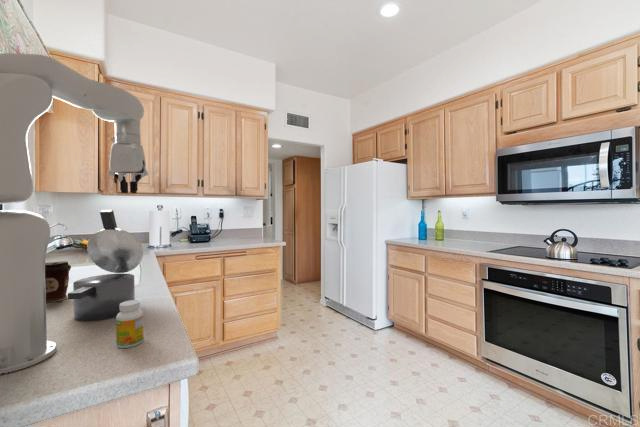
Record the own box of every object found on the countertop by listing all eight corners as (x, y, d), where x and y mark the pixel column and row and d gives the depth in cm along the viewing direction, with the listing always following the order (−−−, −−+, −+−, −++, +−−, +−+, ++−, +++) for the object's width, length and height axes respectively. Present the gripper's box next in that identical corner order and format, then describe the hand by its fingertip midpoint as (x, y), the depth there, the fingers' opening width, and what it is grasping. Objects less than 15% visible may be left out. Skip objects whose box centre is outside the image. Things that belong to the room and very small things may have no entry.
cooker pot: (106, 328, 77) (105, 291, 77) (43, 331, 75) (42, 293, 75) (145, 300, 100) (145, 271, 99) (97, 302, 98) (97, 273, 97)
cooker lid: (93, 273, 96) (99, 268, 99) (145, 272, 98) (149, 267, 101) (76, 211, 88) (82, 208, 91) (133, 211, 90) (137, 208, 93)
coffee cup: (54, 304, 96) (53, 265, 96) (30, 304, 96) (28, 265, 96) (77, 296, 105) (76, 260, 104) (54, 296, 105) (53, 260, 105)
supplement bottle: (110, 347, 67) (109, 306, 67) (128, 337, 72) (128, 298, 72) (131, 349, 66) (130, 307, 66) (148, 338, 72) (148, 299, 71)
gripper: (96, 137, 98) (97, 192, 99) (147, 139, 100) (148, 192, 101) (109, 142, 106) (110, 193, 106) (156, 143, 108) (157, 193, 108)
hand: (129, 192), depth 103 cm, fingers closed
